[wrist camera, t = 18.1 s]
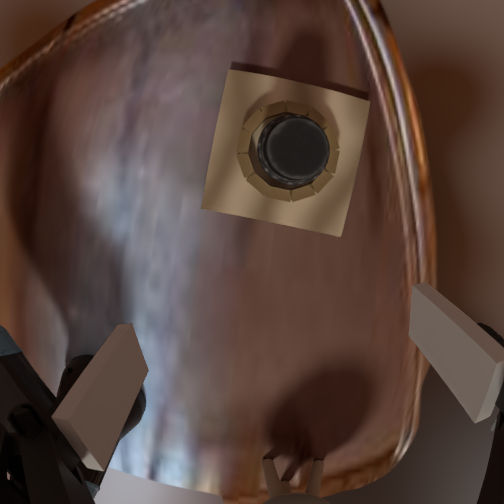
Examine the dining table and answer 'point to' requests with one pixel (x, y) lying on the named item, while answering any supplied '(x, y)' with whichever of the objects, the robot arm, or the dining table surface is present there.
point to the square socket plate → (247, 162)
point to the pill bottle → (293, 149)
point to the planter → (280, 493)
